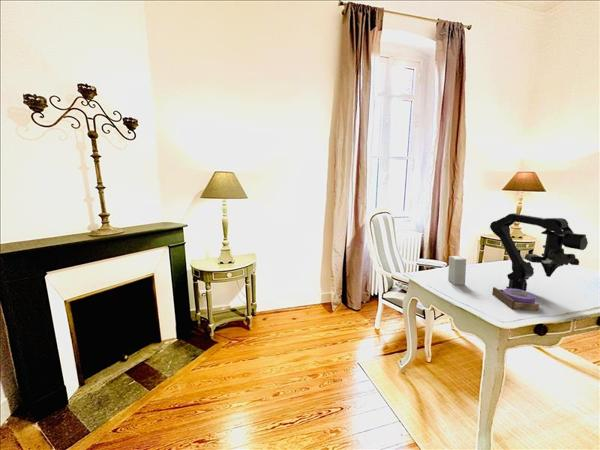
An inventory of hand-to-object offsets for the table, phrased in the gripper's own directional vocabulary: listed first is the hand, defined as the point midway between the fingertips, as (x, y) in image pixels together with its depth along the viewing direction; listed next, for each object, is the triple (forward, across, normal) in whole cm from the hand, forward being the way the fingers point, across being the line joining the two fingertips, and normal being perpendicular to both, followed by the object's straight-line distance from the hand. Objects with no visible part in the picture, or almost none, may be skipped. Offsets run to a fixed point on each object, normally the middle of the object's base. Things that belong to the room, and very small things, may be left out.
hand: (548, 276), depth 125 cm
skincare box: (+12, -34, +16) cm, 39 cm away
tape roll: (+12, -14, -7) cm, 20 cm away
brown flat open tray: (+12, -16, -6) cm, 21 cm away
